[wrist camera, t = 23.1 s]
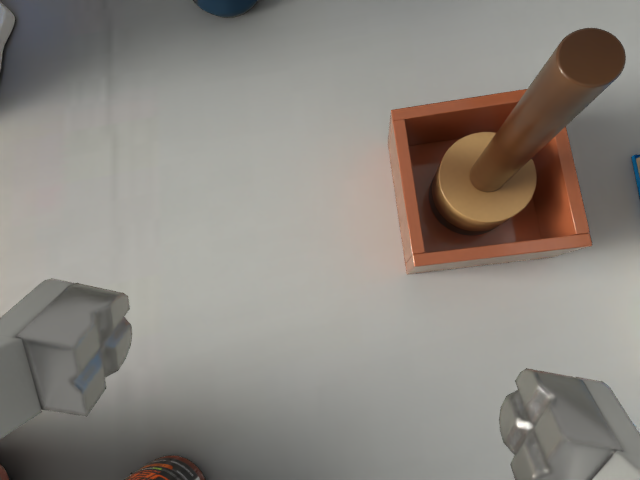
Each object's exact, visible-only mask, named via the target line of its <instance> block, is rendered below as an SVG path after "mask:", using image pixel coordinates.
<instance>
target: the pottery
mask: <svg viewBox="0 0 640 480" xmlns="http://www.w3.org/2000/svg"><path fill="white" fill-rule="evenodd" d="M0 480H9V477H8V475H7V473H6V471H5V469H4V468H3V467H2V466H1V465H0Z"/></svg>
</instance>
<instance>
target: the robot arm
mask: <svg viewBox="0 0 640 480" xmlns="http://www.w3.org/2000/svg"><path fill="white" fill-rule="evenodd" d="M14 23H15V17H14V15H13V13H12V12H11V11H10V10H9V9H8V8H7V7H6V6H5V5H3V4H2V3H1V2H0V71H1V64H2V54H3V49H4V45H5V43H6V41H7V39H8V37H9V35H10V33H11V31H12V29H13V26H14ZM129 309H130V306H129V299H128V296H127V295H126V294H124V293H121V292H116V291H112V290H107V289H102V288H98V287H93V286H88V285H83V284H79V283H71V282H67V281H62V280H57V279H53V278H52V279H48V280H45V281H43V282H42V283H40V284H39V285H38V286H37V287H36V288H35V289H33V290H32V291H31V292H30V293H29V294H28V295H26V296H25V297H24V298H23V299H22V300H21V301H19V302H18V303H17V304H16V305H15V306H14V307H12V308H11V309H10V310H9V311H8V312H7V313H5V314H4V315H3V316H2V317H1V318H0V439H1V438H3V437H4V436H6V435H7V434H9V433H11V432H12V431H14V430H15V429H17V428H18V427H20V426H21V425H23V424H24V423H26V422H27V421H29V420H31V419H32V418H34V417H35V416H37V415H38V414H40V413H41V412H42V410H48V411H54V412H60V413H67V414H73V415H79V416H86V417H87V416H88V414H89V413H90V411H91V410H92V409H93V407H94V406H95V404H96V403H97V401H98V400H99V398H100V397H101V395H102V394H103V392H104V391H105V389H106V382H105V377H107V376H109V375H111V374H113V373H114V372H116V371H118V370H119V368H120V367H121V365H122V364H123V362H124V361H125V359H126V357H127V354H128V351H129V349H130V346H131V339H132V326H131V324H130V323H129V322H128V321H127V320H126V318H125V317H124V316H125V315H126V313H127V312H128V311H129ZM515 382H516V385H517V388H518V390H517V391H515V392H513V393H511V394H509V395H507V396H506V398H505V400H504V402H503V404H502V406H501V409H500V417H499V425H500V432H501V436H502V439H503V442H504V444H505V445H506V446H507V447H508V448H509V449H510V450H511V452H512V453H513V454H514V457H513V460H512V462H511V464H510V465H511V468H512V471H513V474H514V478H515V480H640V434H639V432H638V431H637V429H636V427H635V426H634V424H633V423H632V421H631V420H630V418H629V416H628V415H627V413H626V412H625V410H624V409H623V407H622V405H621V404H620V402H619V401H618V399H617V398H616V396H615V394H614V393H613V391H612V390H611V388H610V387H609V386H608V385H606V384H605V383H604V382H603V381H597V380H591V379H585V378H579V377H572V376H566V375H561V374H555V373H549V372H544V371H538V370H533V369H527V368H526V369H525V370H523V371H522V372H520V374H519V375H518V377H517V379H516V380H515Z"/></svg>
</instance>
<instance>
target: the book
mask: <svg viewBox="0 0 640 480" xmlns="http://www.w3.org/2000/svg"><path fill="white" fill-rule="evenodd" d="M632 162H633V167H634V172H635V177H636V182H637V187H638V192H639V197H640V155H634V156H632Z"/></svg>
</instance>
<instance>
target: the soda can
mask: <svg viewBox="0 0 640 480" xmlns="http://www.w3.org/2000/svg"><path fill="white" fill-rule="evenodd" d="M193 1H194V2H195V3H196V4H197V5H198V6H199V7H200V8H201V9H203V10H205V11H206V12H209V13H211V14H214V15H217V16H220V17H227V18H228V17H236V16H239V15H242V14H244V13H245V12H247V11H248V10H250V9H251V8H252V7H253V6H254V5H255V4H256V2H257V1H258V0H193Z"/></svg>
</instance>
